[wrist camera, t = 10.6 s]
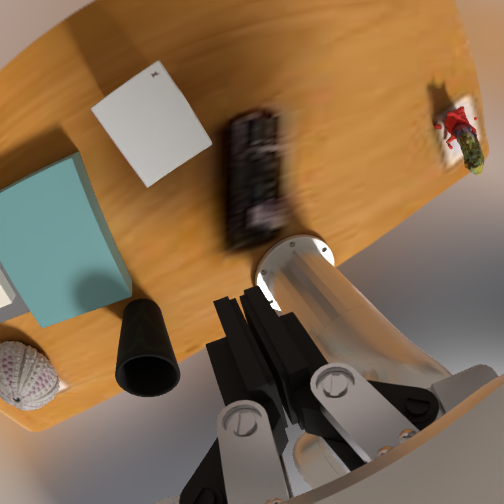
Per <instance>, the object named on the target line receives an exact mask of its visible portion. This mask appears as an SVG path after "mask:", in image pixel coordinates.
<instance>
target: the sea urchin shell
mask: <svg viewBox="0 0 504 504" xmlns="http://www.w3.org/2000/svg"><path fill="white" fill-rule="evenodd" d="M56 375H57V373H56V372H55V369H54V367H53V365H51V363H50V361H49V360H47V358H46V356H44V355H43V354H42V353H38V352H37V350H36V349H35V348H32V347H31V346H30V345H29V346H25V345H24V344H23V343H20V342H18V341H17V342H14V341H11V342H10V341H5V342H3V343H0V397H1V399H3V400H4V401H5V402H6V403H8V404H11V405H13V406H15V407H17V408H18V409H20V410H27V411H28V410H34V409H35V410H37V408H41V407H42V406H43V405H46V404H47V403H48V402H50V401H51V400H54V397H55V394H56V392H57V391H59V390H58V388H59V387H60V386H59V380H58V376H56Z"/></svg>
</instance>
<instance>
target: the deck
mask: <svg viewBox="0 0 504 504" xmlns="http://www.w3.org/2000/svg"><path fill="white" fill-rule="evenodd" d="M0 261H1V263H2V265H3V267H4V269H5V270H6V272H7V274H8V276H9V277H10V279H11V281H12V282H13V284H14V286H15V287H16V289H17V291H18V292H19V294H20V296H21V297H22V299H23V300H24V302H25V304H26V305H27V307H28V308H29V310H30V311H31V313H32V314H33V316H34V317H35V319H36V320H37V322H38V323H39V324H40V326H41V327H42V328H44V327H47V326H50V325H53V324H56V323H58V322H61V321H64V320H67V319H70V318H73V317H75V316H78V315H81V314H84V313H87V312H90V311H92V310H95V309H98V308H101V307H104V306H107V305H109V304H112V303H115V302H118V301H121V300H124V299H126V298H129V297H132V278H131V276H130V274H129V272H128V270H127V268H126V266H125V263H124V261H123V259H122V257H121V255H120V253H119V250H118V248H117V246H116V244H115V241H114V239H113V237H112V234H111V232H110V230H109V228H108V225H107V223H106V220H105V218H104V216H103V213H102V211H101V208H100V206H99V203H98V201H97V198H96V196H95V193H94V191H93V188H92V185H91V183H90V180H89V177H88V175H87V172H86V169H85V166H84V164H83V161H82V158H81V155H80V152H79V151H78V152H76V153H74V154H72V155H69V156H67V157H65V158H63V159H60V160H58V161H56V162H54V163H52V164H50V165H48V166H46V167H44V168H41V169H39V170H37V171H35V172H33V173H31V174H29V175H27V176H25V177H24V178H22V179H20V180H18V181H16V182H14V183H12V184H10V185H9V186H7V187H5V188H3V189H1V190H0Z"/></svg>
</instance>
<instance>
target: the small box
mask: <svg viewBox="0 0 504 504" xmlns="http://www.w3.org/2000/svg"><path fill="white" fill-rule="evenodd" d="M91 112H92V113H93V115H94V116H95V118H96V119H97V120H98V122H99V123H100V125H101V126H102V128H103V129H104V130H105V132H106V133H107V135H108V136H109V137H110V139H111V140H112V141H113V143H114V144H115V146H116V147H117V148H118V150H119V151H120V153H121V154H122V155H123V157H124V158H125V159H126V161H127V162H128V163H129V165H130V166H131V167H132V169H133V170H134V171H135V173H136V174H137V176H138V177H139V178H140V179H141V181H142V182H143V183H144V185H145V186H146V187H149V186H151V185H152V184H154V183H155V182H157V181H158V180H159V179H161V178H162V177H164V176H165V175H167V174H168V173H170V172H171V171H173V170H174V169H176V168H177V167H179V166H180V165H182V164H183V163H185V162H186V161H188V160H189V159H191V158H192V157H194V156H195V155H197V154H198V153H200V152H202V151H203V150H205V149H206V148H208V147H210V146H211V145H212V141H211V139H210V138H209V136H208V134H207V133H206V131H205V130H204V128H203V126H202V125H201V123H200V121H199V120H198V118H197V116H196V115H195V113H194V112H193V110H192V108H191V107H190V105H189V103H188V102H187V100H186V98H185V97H184V95H183V94H182V92H181V91H180V90H179V88H178V87H177V86H176V84H175V83H174V81H173V80H172V78H171V77H170V75H169V74H168V72H167V71H166V69H165V68H164V66H163V65H162V63H161V62H160V61H159V60H158V61H156V62H155V63H153V64H152V65H150V66H149V67H147V68H146V69H144V70H143V71H141V72H140V73H138V74H137V75H135V76H134V77H132V78H131V79H130V80H128V81H127V82H125V83H124V84H123V85H121V86H120V87H118V88H117V89H116V90H114V91H113V92H112V93H110V94H109V95H108V96H106V97H105V98H104V99H102V100H101V101H100V102H98V103H97V104H96V105H94V106H93V107H92V108H91Z"/></svg>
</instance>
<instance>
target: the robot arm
mask: <svg viewBox="0 0 504 504" xmlns="http://www.w3.org/2000/svg"><path fill="white" fill-rule="evenodd" d="M240 301H241V304H242V307H243V310H244V314H245V317H246V320H247V322H246V320H245V318H244V316H243V314H242V311H241V309H240V307H239V305H238V303H237V301H236V299H235V298H234V299H231V300H229V298H228V296H227V297H224V298H221V299H219V300H216V301H213V303H214V305H215V308H216V311H217V313H218V316H219V319H220V321H221V324H222V327H223V329H224V332H225V334H226V337H224V338H222V339H219V340H216V341H213V342H211V343H208V344H206V347H207V351H208V354H209V357H210V361H211V364H212V367H213V370H214V373H215V376H216V379H217V382H218V386H219V389H220V392H221V395H222V398H223V400H224V403H225V406H226V407H225V408H224V409H223V410H222V411H221V413H220V414H219V417H218V419H217V432H218V437H217V439H216V440H215V442H214V443H213V445H212V447H211V448H210V450H209V451H208V453H207V454H206V456H205V458H204V459H203V461H202V462H201V463H200V465H199V467H198V468H197V470H196V471H195V473H194V474H193V476H192V477H191V479H190V480H189V482H188V483H187V485H186V486H185V487H184V489H183V491H182V493H181V494H180V495H178V496H176V497H174V498H170V497H168V498H166V499H164V500H161V501H159V502H157V503H155V504H504V374H502V375H500V376H498V375H497V374H496V372H495V371H494V370H493V369H492V368H491V367H489V366H487V365H482V364H481V365H476V366H473V367H471V368H469V369H466V370H464V371H462V372H460V373H457V374H455V375H452V374H451V373H450V372H449V371H448V370H447V369H446V368H445V367H444V366H443V365H442V364H440V363H439V362H438V361H436V360H435V359H434V358H432V357H431V356H430V355H428V354H427V353H426V352H424V351H423V350H421V349H420V348H419V347H417V346H416V345H415V344H413V343H412V342H411V341H410V340H409V339H407V338H406V337H405V336H404V335H403V334H402V333H401V332H399V331H398V329H396V328H395V327H394V326H393V325H392V324H391V323H390V322H389V321H388V320H387V319H386V318H385V317H384V316H383V315H382V314H381V313H380V312H379V311H378V310H377V309H376V308H375V307H374V306H373V305H372V304H371V303H370V302H369V301H368V300H367V299H366V298H365V297H364V296H363V295H362V294H361V293H360V292H359V291H358V290H357V289H356V288H355V287H354V286H353V285H352V284H351V283H350V282H349V281H348V280H347V279H346V278H345V277H344V276H343V275H342V274H341V273H340V272H339V271H338V270H337V269H336V268H335V267H334V258H333V254H332V252H331V249H330V248H329V247H328V245H327V244H326V243H324V242H323V241H322V240H321V239H319V238H317V237H315V236H312V235H306V234H300V235H294V236H290V237H287V238H285V239H283V240H281V241H279V242H278V243H276V244H275V245H274V246H272V247H271V248H270V249H269V250H268V251H267V252H266V253H265V255H264V256H263V258H262V259H261V261H260V263H259V265H258V267H257V270H256V274H255V286H254V287H251V288H249V289H246V290H244V295H242V296H240ZM273 308H274V309H276V310H281V311H282V313H283V314H284V315H282V316H280V317H278V315H277V314H276V312H275V311H274V309H273ZM247 323H248V324H247ZM281 403H282V404H281ZM282 405H283V407H284V409H285V411H286V413H287V415H288V417H289V419H290V421H291V423H292V424H293V425H294V424H296V423H298V424H299V426H300V428H301V429H302V430H303V429H305V432H303V433H302V434H301V435H300V437H299V438H298V439H297V441H296V442H295V444H294V447H293V452H292V456H293V461H294V464H295V467H296V469H297V470H298V472H299V474H300V475H301V477H302V478H303V479H304V481H305V482H306V483H307V484H308V485H309V486H310V487H311V488H312V489H313V490H311V491H308V492H306V493H303V494H301V495H299V496H296V497H294V496H293V492H292V488H291V484H290V481H289V477H288V473H287V470H286V466H285V462H284V458H283V455H282V453H283V451H284V449H285V447H286V445H287V443H288V438H287V434H286V431H285V428H287V427H288V425H287V421H286V418H285V414H284V411H283V407H282Z"/></svg>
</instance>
